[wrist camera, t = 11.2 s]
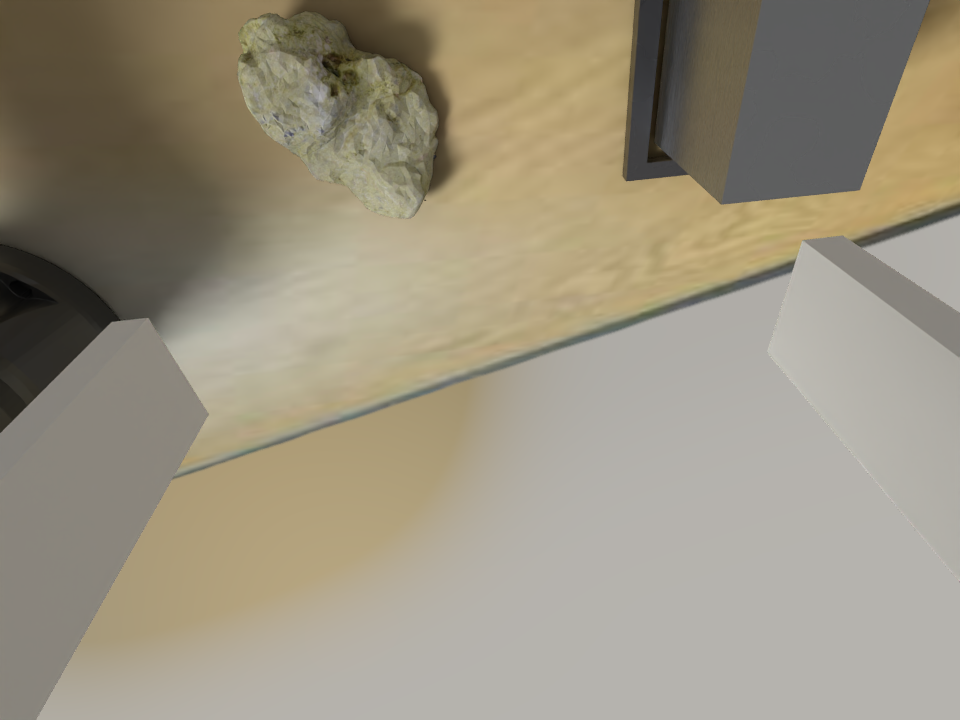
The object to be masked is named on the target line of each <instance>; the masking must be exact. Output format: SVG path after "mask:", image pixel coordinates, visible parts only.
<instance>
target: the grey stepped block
mask: <svg viewBox="0 0 960 720" xmlns="http://www.w3.org/2000/svg"><path fill="white" fill-rule="evenodd" d="M929 1H930V0H669V6H668V16H667V25H666V35H665V44H664V54H663V63H662V73H661V82H660V91H659V101H658V110H657V120H656V129H655V139H654V143H655V144H656V145H658V146H659V147H660V148H661V149H662V150H663V151H664V152H665V153H666V154H667V155H668V156H669V157H670V158H672V159H673V160H674V161H675V162H676V163H677V164H678V165H679V166H680V167H681V168H682V169H683V170H685V171H686V172H687V173H688V174H689V175H690V176H691V177H692V178H693V179H694V180H695V181H696V182H697V183H699V184H700V185H701V186H702V187H703V188H704V189H705V190H706V191H707V192H708V193H709V194H710V195H712V196H713V197H714V198H715V199H716V200H717V201H718V202H719V203H720V204H721V205H722V204H731V203H741V202H751V201H760V200H770V199H780V198H789V197H799V196H809V195H818V194H828V193H837V192H847V191H857V190H860V188H861V185H862V182H863V180H864V177H865V174H866V172H867V169H868V166H869V164H870V161H871V158H872V155H873V153H874V150H875V147H876V145H877V142H878V139H879V136H880V134H881V131H882V128H883V126H884V123H885V120H886V118H887V115H888V112H889V109H890V107H891V104H892V101H893V99H894V96H895V93H896V90H897V88H898V85H899V82H900V80H901V77H902V74H903V72H904V69H905V66H906V63H907V61H908V58H909V55H910V53H911V50H912V47H913V44H914V42H915V39H916V36H917V34H918V31H919V28H920V26H921V23H922V20H923V17H924V15H925V12H926V9H927V7H928V4H929Z"/></svg>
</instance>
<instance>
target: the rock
mask: <svg viewBox="0 0 960 720" xmlns="http://www.w3.org/2000/svg"><path fill="white" fill-rule="evenodd" d="M238 34H239V41H240V43H241V45H242V48H243V54H241V56H240V58H239V60H238V74H237V75H238V80H239V83H240V86H241V88H242V92H243V95H244V99H245V103H246V105H247V107H248V109H249V110H250V112H251V113H252V115H253V116H254V117H255V119H256V120H257V121H258V122H259V124H260V125H261V127H262V129H263V130H264V132H265V133H266V134H267V135H268V136H270V137H271V138H272V139H273V140H275V141H276V142H278V143H279V144H281V145H282V146H284V147H286V148H288V149H289V150H290V151H291V152H292V153H293V154H296V155H297V156H299V157H300V158H301V160H302V161H303V162H304V163H305V165H306V166H307V167H308V169H309V171H310V173H311V174H312V175H313V176H314V177H315V178H316V179H317V180H321V181H328V182H330V183H337V184H342V185H345V186H347V187H348V188H349V189H350V190H351V191H352V192H353V193H354V194H355V195H356V196H357V197H358V198H359V199H360V200H361V201H362V202H363V204H364V205H365V207H366V208H367V209H369V210H371V211H373V212H375V213H377V214H379V215H383V216H387V217H395V218H400V219H409V218H412V217H413V216H414V215H415V214H416V212H417V211H418V210H419V208H420V206H421V204H422V202H423V200H424V198H425V195H426V194H427V192H428V190H429V184H430V181H431V178H432V175H433V161H434V159H435V158H436V155H434V153H435V151H436V149H437V145H438V139H437V138H436V137H435V133H436V132H437V128H438V127H439V119H438V114H437V110H436V109H435V108H434V107H433V106H432V105H431V103H430V102H429V98H428V95H427V92H426V88H425V85H424V84H423V82H422V77H421V76H420V75H419V74H418V73H416V72H414V71H413V70H411V69H410V68H408V67H407V66H406V65H405V64H403V63H400V62H399V61H397V59H395V58H388V59H387V58H384V57H383V56H381V55H379V54H371V53H368V52H363V51H360V50H357V49H355V47H354V46H353V45H352V44H351V41H350V39H349V36H348V33H347V31H346V29H345V27H344V25H343V24H342V23H340V22H339V21H337V20H330V21H329V20H328V19H326V18H325V17H323V16H322V15H320V14H319V13H317V12H307V11H304V12H302V13H300V14H297V15H294V16H292V17H291V18H289V19H288V20H286V19H283V18H281V17H280V16H279V15H278V14H271V13H268V14H264V15H261V16H260V17H259V18H258V19H257V18H252V19H249V20H248V21H247V22H246V23H245V25H244V27H242V28H241V30H240V31H239V33H238ZM425 201H426V200H425Z"/></svg>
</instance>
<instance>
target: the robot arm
mask: <svg viewBox="0 0 960 720" xmlns="http://www.w3.org/2000/svg"><path fill="white" fill-rule="evenodd" d="M767 353H768V354H769V355H770V357H771V358H772V359H773V360H774V361H775V363H776V364H777V365H778V366H779V367H780V369H781V370H782V371H783V372H784V373H785V375H786V376H787V377H788V378H789V379H790V381H791V382H792V383H793V384H794V385H795V386H796V388H797V389H798V390H799V391H800V392H801V394H802V395H803V396H804V397H805V398H806V400H807V401H808V402H809V403H810V404H811V406H812V407H813V408H814V409H815V410H816V411H817V413H818V414H819V415H820V416H821V417H822V419H823V420H824V421H825V422H826V423H827V425H828V426H829V427H830V428H831V429H832V431H833V432H834V433H835V434H836V435H837V437H838V438H839V439H840V440H841V441H842V443H843V444H844V445H845V446H846V447H847V449H848V450H849V451H850V452H851V453H852V454H853V456H854V457H855V458H856V459H857V460H858V462H859V463H860V464H861V465H862V466H863V468H864V469H865V470H866V471H867V472H868V474H869V475H870V476H871V477H872V478H873V479H874V481H875V482H876V483H877V484H878V485H879V487H880V488H881V489H882V490H883V491H884V493H885V494H886V495H887V496H888V497H889V499H890V500H891V501H892V502H893V503H894V505H895V506H896V507H897V508H898V509H899V511H900V512H901V513H902V514H903V515H904V517H905V518H906V519H907V520H908V521H909V522H910V524H911V525H912V526H913V527H914V528H915V530H917V532H918V533H919V534H920V536H921V537H922V538H923V539H924V540H925V542H926V543H927V544H928V545H929V546H930V548H931V549H932V550H933V551H934V552H935V553H936V555H937V556H938V557H939V558H940V559H941V561H942V562H943V563H944V564H945V565H946V566H947V568H948V569H949V570H950V571H951V573H952V574H953V575H954V576H955V577H956V579H957V580H958V581H959V582H960V313H959V312H958V311H956V310H955V309H953V308H952V307H950V306H949V305H947V304H945V303H944V302H942V301H941V300H939V299H938V298H936V297H935V296H933V295H932V294H930V293H929V292H927V291H926V290H924V289H923V288H921V287H920V286H918V285H917V284H915V283H914V282H912V281H911V280H909V279H908V278H906V277H904V276H903V275H901V274H900V273H899V272H897V271H895V270H894V269H892V268H891V267H889V266H888V265H886V264H885V263H883V262H882V261H880V260H879V259H877V258H876V257H874V256H873V255H871V254H870V253H868V252H867V251H865V250H864V249H862V248H861V247H859V246H858V245H856V244H855V243H853V242H852V241H850V240H849V239H847V238H845V237H844V236H835V237H827V238H818V239H810V240H802V243H801V247H800V250H799V253H798V256H797V259H796V262H795V266H794V269H793V272H792V275H791V279H790V282H789V285H788V288H787V291H786V294H785V297H784V301H783V304H782V307H781V310H780V313H779V316H778V320H777V323H776V326H775V329H774V332H773V336H772V339H771V342H770V345H769V348H768V352H767ZM208 415H209V414H208V412H207V411H206V409H205V408H204V406H203V404H202V403H201V401H200V400H199V398H198V396H197V395H196V393H195V392H194V390H193V388H192V387H191V385H190V384H189V382H188V380H187V379H186V377H185V376H184V374H183V372H182V371H181V369H180V368H179V366H178V364H177V363H176V361H175V360H174V358H173V357H172V355H171V353H170V352H169V350H168V349H167V347H166V345H165V344H164V342H163V341H162V339H161V337H160V336H159V334H158V333H157V331H156V329H155V328H154V326H153V325H152V323H151V321H150V320H149V318H141V319H132V320H124V321H118V319H117V318H116V316H115V315H114V314H113V312H112V311H111V310H110V309H109V308H108V307H107V305H106V304H105V303H104V302H103V301H102V300H101V299H100V298H99V297H98V296H97V295H96V294H94V293H93V292H92V291H91V290H90V289H89V288H87V287H86V286H85V285H84V284H82V283H81V282H80V281H78V280H77V279H75V278H74V277H73V276H71V275H70V274H68V273H66V272H65V271H63V270H61V269H60V268H58V267H56V266H54V265H53V264H51V263H49V262H47V261H45V260H43V259H40V258H38V257H36V256H34V255H31V254H29V253H26V252H23V251H20V250H17V249H14V248H11V247H7V246H3V245H0V720H36V719H37V717H38V715H39V714H40V712H41V710H42V708H43V707H44V705H45V703H46V701H47V699H48V697H49V696H50V694H51V692H52V691H53V689H54V687H55V685H56V683H57V682H58V680H59V678H60V677H61V675H62V673H63V671H64V669H65V668H66V666H67V664H68V662H69V661H70V659H71V657H72V655H73V653H74V652H75V650H76V648H77V646H78V645H79V643H80V641H81V639H82V638H83V636H84V634H85V632H86V631H87V629H88V627H89V625H90V623H91V621H92V620H93V618H94V616H95V614H96V613H97V611H98V609H99V607H100V606H101V604H102V602H103V600H104V599H105V597H106V595H107V593H108V592H109V590H110V588H111V586H112V584H113V583H114V581H115V579H116V577H117V576H118V574H119V572H120V570H121V569H122V567H123V565H124V563H125V562H126V560H127V558H128V556H129V555H130V553H131V551H132V549H133V547H134V546H135V544H136V542H137V540H138V539H139V537H140V535H141V533H142V532H143V530H144V528H145V526H146V524H147V523H148V521H149V519H150V517H151V516H152V514H153V512H154V510H155V509H156V507H157V505H158V503H159V501H160V500H161V498H162V496H163V494H164V493H165V491H166V489H167V487H168V486H169V484H170V482H171V480H172V478H173V477H174V475H175V473H176V471H177V470H178V468H179V466H180V464H181V463H182V461H183V459H184V457H185V455H186V454H187V452H188V450H189V448H190V447H191V445H192V443H193V441H194V440H195V438H196V436H197V434H198V433H199V431H200V429H201V427H202V425H203V424H204V422H205V420H206V418H207V417H208Z"/></svg>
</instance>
